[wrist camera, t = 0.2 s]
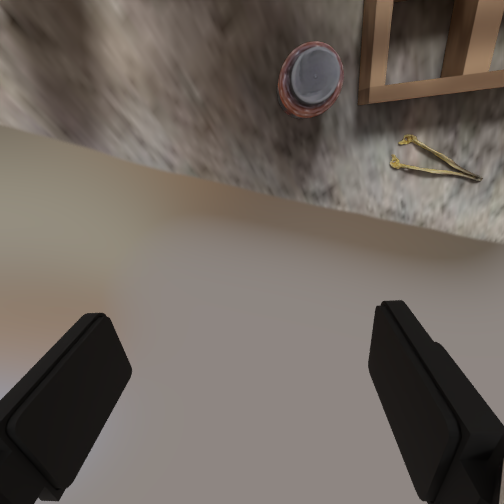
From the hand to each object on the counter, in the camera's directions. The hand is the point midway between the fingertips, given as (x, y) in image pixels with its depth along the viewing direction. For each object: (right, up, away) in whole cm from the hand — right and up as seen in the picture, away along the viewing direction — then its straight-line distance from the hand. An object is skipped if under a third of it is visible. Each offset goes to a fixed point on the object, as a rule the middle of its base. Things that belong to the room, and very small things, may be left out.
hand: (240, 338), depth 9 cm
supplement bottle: (+6, +23, +22) cm, 32 cm away
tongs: (+25, +15, +25) cm, 39 cm away
